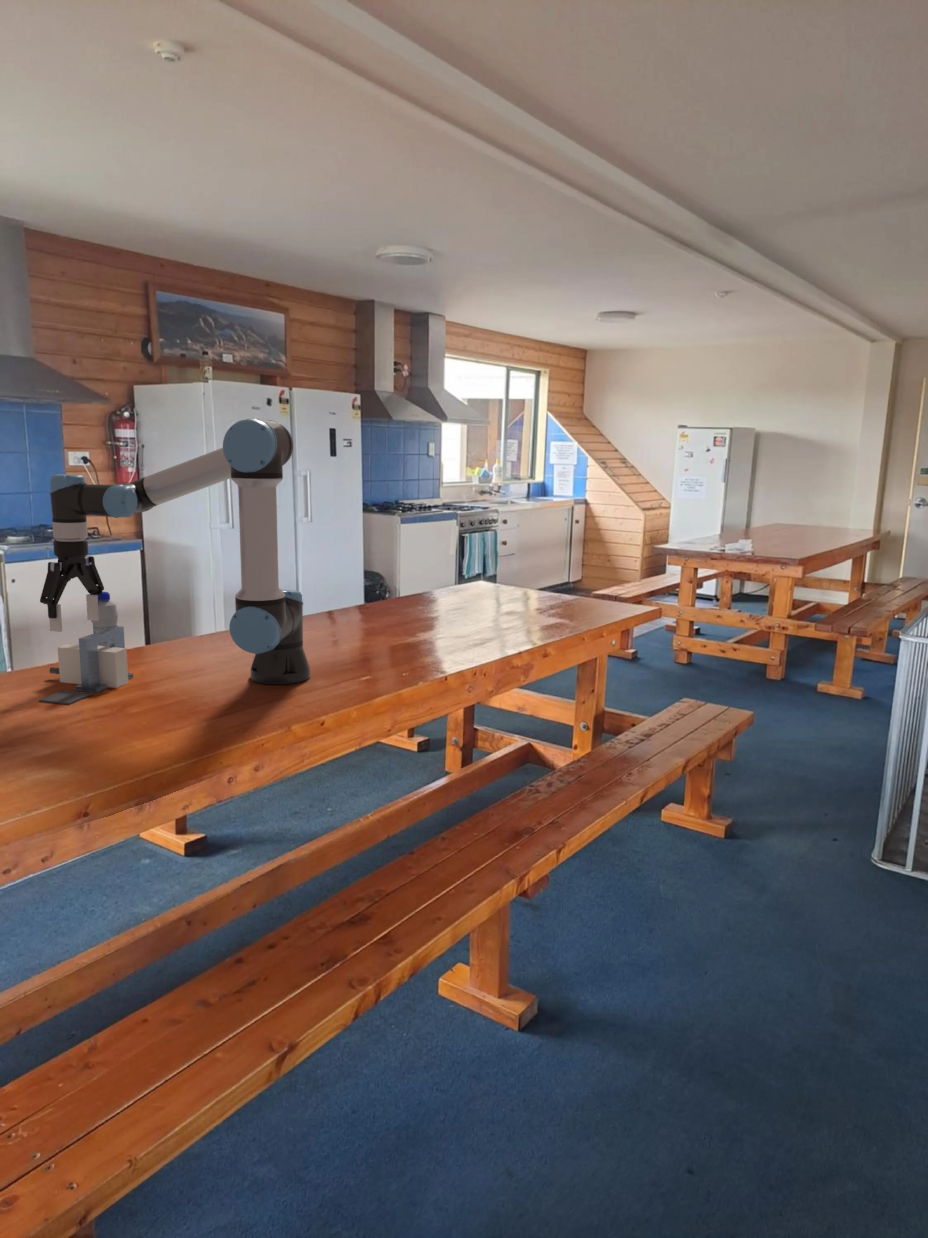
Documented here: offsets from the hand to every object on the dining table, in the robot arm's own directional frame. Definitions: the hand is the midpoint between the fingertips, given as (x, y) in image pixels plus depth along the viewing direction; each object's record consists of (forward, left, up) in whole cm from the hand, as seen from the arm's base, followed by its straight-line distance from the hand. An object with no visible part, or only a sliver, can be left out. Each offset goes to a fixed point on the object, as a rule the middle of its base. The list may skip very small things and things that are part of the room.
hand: (75, 625), depth 206 cm
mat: (-6, +13, -14) cm, 20 cm away
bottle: (+3, -15, -14) cm, 21 cm away
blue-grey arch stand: (-7, 0, -14) cm, 16 cm away
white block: (-2, 0, -14) cm, 15 cm away
